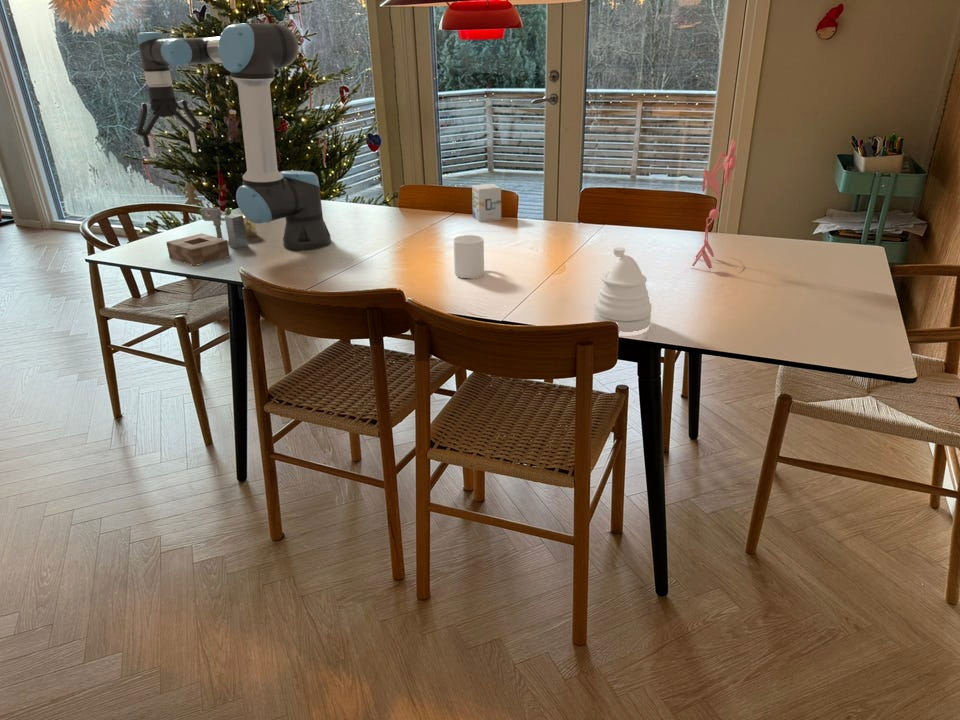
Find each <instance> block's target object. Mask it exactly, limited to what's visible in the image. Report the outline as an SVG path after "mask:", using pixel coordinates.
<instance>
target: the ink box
mask: <svg viewBox="0 0 960 720" xmlns="http://www.w3.org/2000/svg"><path fill="white" fill-rule="evenodd" d="M471 190H472V191H471V192H472V193H471V194H472V199H471V200H472V201H471V202H472V217H473V218H474V219H476V221H478V222H479V223H481V222H491V221H501V220H502V188H501V187H500V186H499V185H497V184H495V183H492V182H491V183H483V184H482V183H481V184H472V185H471Z"/></svg>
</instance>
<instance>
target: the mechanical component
mask: <svg viewBox="0 0 960 720" xmlns="http://www.w3.org/2000/svg"><path fill="white" fill-rule="evenodd" d="M198 214H200V216H201V219H202V220H203V221H205V222H206V221H207V222H212V223H213V224H212V225H213V226H214V227H215V232H216V238H221V239H223V235H222V234H223V232H222V228H221V226H222V222H221V221H223V222H226V221H225V217H222V216H228V215H232V209H231V208H228V207H226V208H225V209H224V212H222V210H220V207H203V208H199V210H198Z"/></svg>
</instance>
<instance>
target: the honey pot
mask: <svg viewBox="0 0 960 720" xmlns="http://www.w3.org/2000/svg"><path fill="white" fill-rule="evenodd" d="M625 252H626V248H625V247H620V246H617V247H613V254H614V256H615V257H616V258H619V259H617V261H616V262H614V264H613V265H612V267H611V269H610V270H609V271H607V272H605V273H603V274H602V275H601V277H600V278H601V281H602V282H603V284H602V287H600V290H599V293H598V295H597V298H596V300H595V303H594V308H593V309H594V311H593V322H594V321H614V322H617V323H618V325H619V332H620V331H622V332H633V331H639V330H642V329H645V328H647V327H648V326H649V325H650V326H651V316H652V303H651V302H650V296H649V290H648V289H647V286H646V283H647V281H648V280H647V277H646V275H644V274H643V273H642V271H641V269H640V267H639V265H638V263H637V261H636V260H635V259H634V258H633V257H631V256H630V255H626V254H625Z"/></svg>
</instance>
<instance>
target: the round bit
mask: <svg viewBox="0 0 960 720" xmlns="http://www.w3.org/2000/svg"><path fill="white" fill-rule="evenodd" d="M240 215H243V219H244V225H245V231H246V237H247V240H249V239H248V238H250V239H254V237H255V238H257V237H258V230H257V223H253V222H251V221H249V220H248V219H247V218H246V217H245V216H244V214H243V213H240Z"/></svg>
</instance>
